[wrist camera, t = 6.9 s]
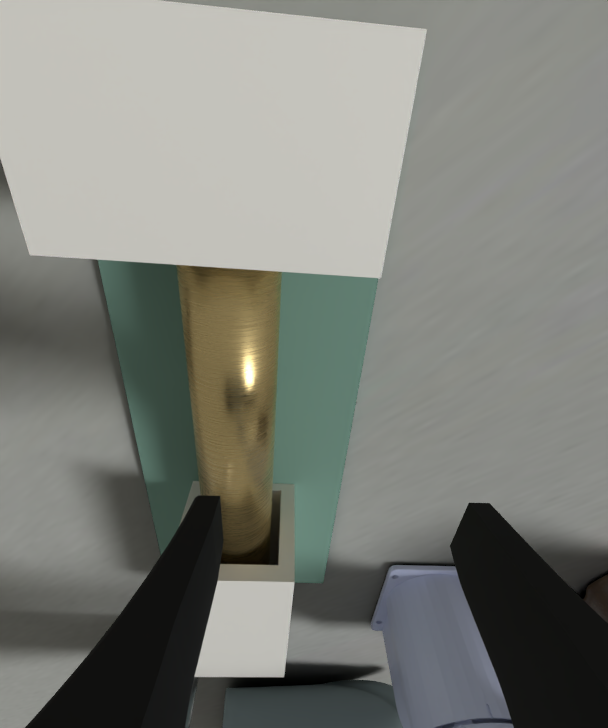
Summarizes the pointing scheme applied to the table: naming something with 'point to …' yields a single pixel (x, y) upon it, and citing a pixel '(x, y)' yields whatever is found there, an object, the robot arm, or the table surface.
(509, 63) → the table surface
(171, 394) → the mat
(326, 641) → the table surface
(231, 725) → the pencil case
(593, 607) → the plant pot
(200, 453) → the tube
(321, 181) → the socket
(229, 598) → the sleeve
